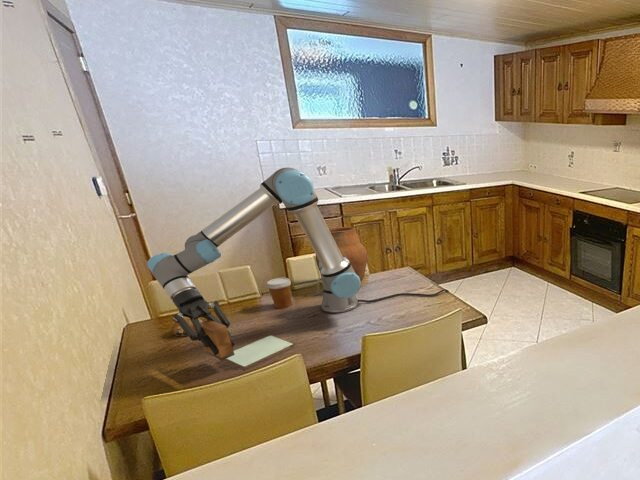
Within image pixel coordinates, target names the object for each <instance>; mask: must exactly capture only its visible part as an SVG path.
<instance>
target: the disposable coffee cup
mask: <svg viewBox="0 0 640 480" xmlns="http://www.w3.org/2000/svg"><path fill="white" fill-rule="evenodd" d="M291 283H292V281H291V280H290V279H289V278H288V277H276V278H272V279H270V280H268V281H267V283H266V287H267V289H268V291H269V293H270V296H271V299H272V301H273V303H274V304H273V305H274V307H275V308H277V309H285V308H288V307H290V306H291V305H292V295H291V292H292V291H291Z"/></svg>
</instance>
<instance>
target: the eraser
mask: <svg viewBox="0 0 640 480" xmlns="http://www.w3.org/2000/svg"><path fill="white" fill-rule="evenodd" d="M200 325H201V327H202V330H203V332H204V336H206V335H208V336H209V337H210V339H211V340H212V341H213V343H214V344H215V346H216V347H217V348H218V350H219V352H218V354H217V355H215V354H214V353H213V352H212V350H211V349H210V348H209V347H205V346H204V345H203V348H204V351H205V353H206V354H208V355H209V356H211V357H214V358H216V359H218V360H220V361H224V360H227V359H226V358H229V357H231V356H233V355H235V354H234V351H235V350H234V347H233V348H232V344H231V341H230V339H231V337H230V338H229V334H228V331H229V330H228V328H226V326H225V325H222V324H220V323H217V322H215V321H211V320H207V319H206V320H204V321H203V322H201V323H200ZM227 330H228V331H227Z"/></svg>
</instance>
